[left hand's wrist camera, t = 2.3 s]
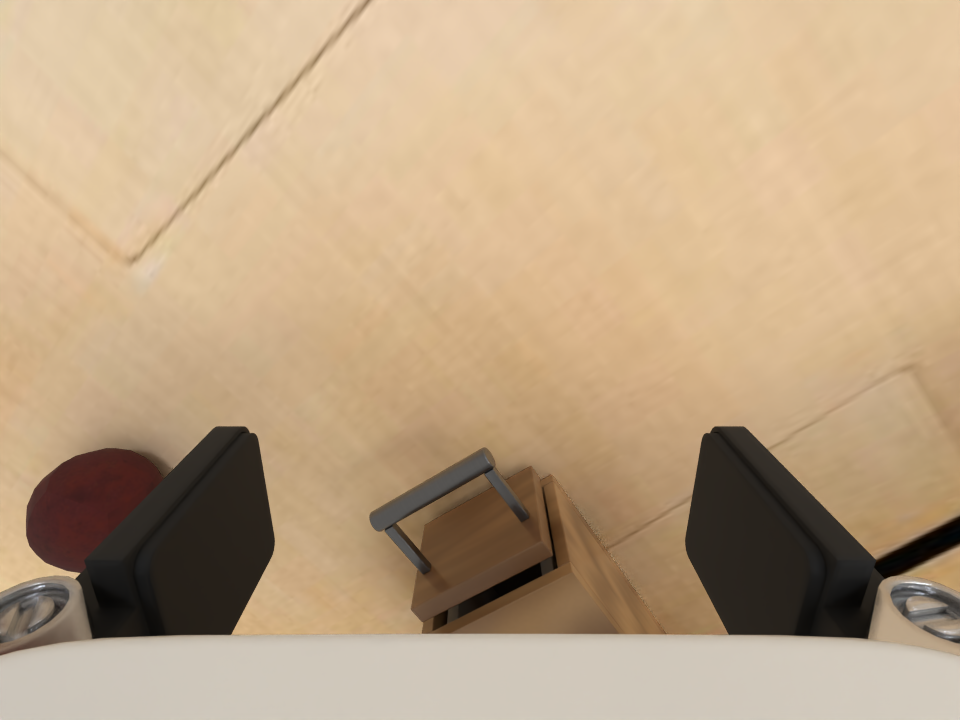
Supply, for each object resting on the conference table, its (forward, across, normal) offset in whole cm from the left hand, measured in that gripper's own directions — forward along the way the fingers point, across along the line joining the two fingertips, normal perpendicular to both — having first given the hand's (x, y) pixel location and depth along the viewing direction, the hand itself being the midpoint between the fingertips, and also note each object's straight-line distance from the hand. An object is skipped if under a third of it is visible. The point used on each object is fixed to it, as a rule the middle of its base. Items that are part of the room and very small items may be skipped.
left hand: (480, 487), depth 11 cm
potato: (+22, +24, +14) cm, 36 cm away
